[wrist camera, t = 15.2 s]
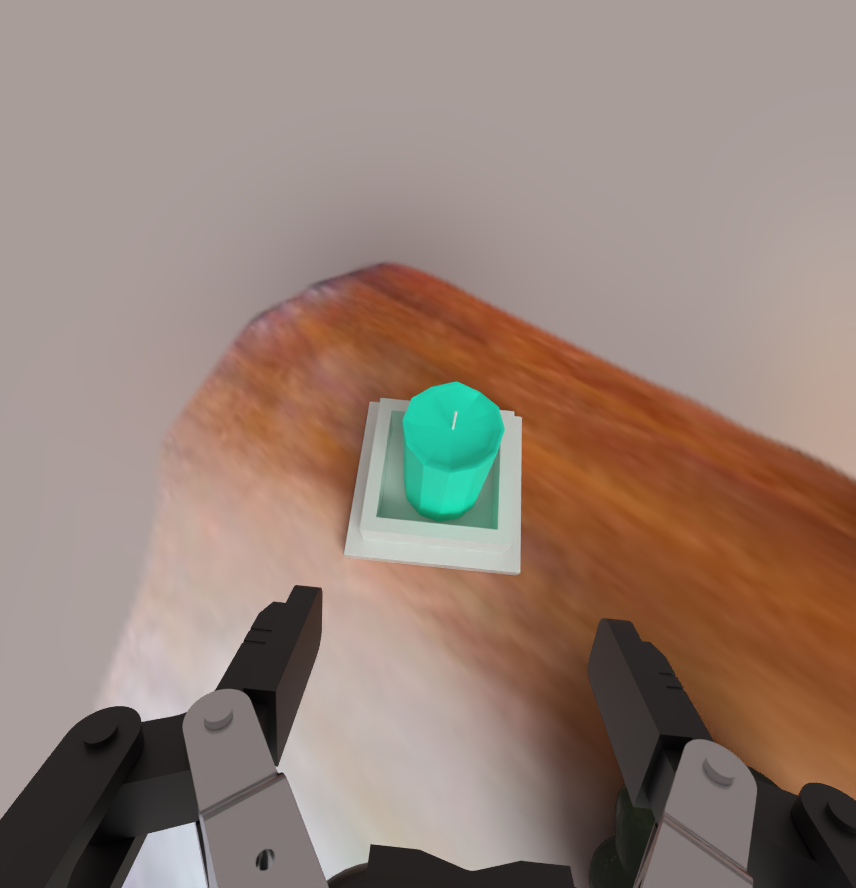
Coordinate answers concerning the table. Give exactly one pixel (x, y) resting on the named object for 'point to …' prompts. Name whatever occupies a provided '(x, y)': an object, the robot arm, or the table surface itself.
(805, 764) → the table surface
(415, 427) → the candle
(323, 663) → the table surface
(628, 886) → the squash
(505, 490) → the candle stand
